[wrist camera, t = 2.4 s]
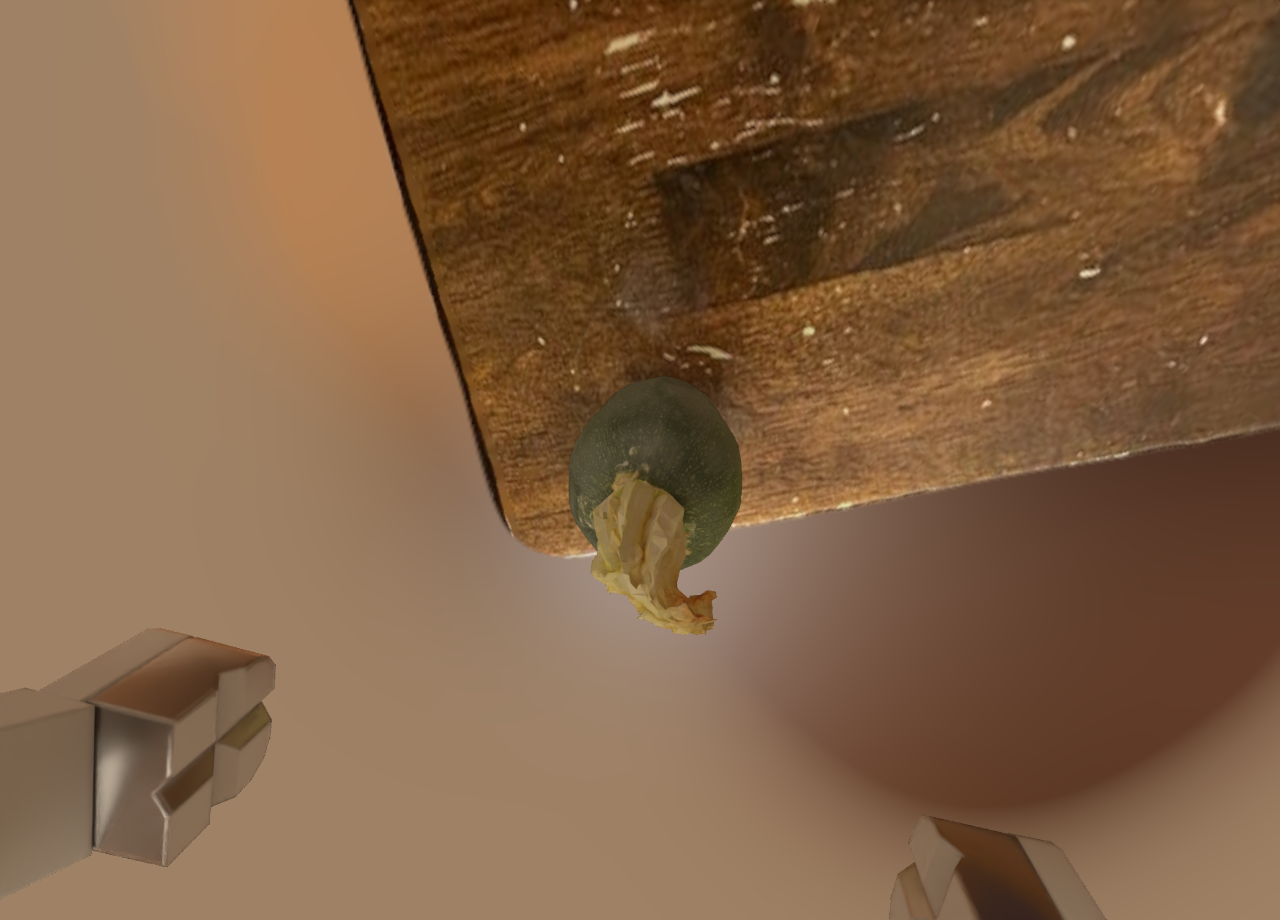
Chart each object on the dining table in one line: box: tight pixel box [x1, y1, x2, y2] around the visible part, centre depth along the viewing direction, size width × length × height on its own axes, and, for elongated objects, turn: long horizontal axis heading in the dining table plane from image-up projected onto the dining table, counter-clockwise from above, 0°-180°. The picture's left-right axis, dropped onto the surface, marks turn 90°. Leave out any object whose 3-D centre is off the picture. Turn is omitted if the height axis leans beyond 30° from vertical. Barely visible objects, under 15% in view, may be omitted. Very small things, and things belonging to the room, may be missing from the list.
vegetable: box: [569, 376, 742, 635], centre depth 21 cm, size 4×4×20 cm
